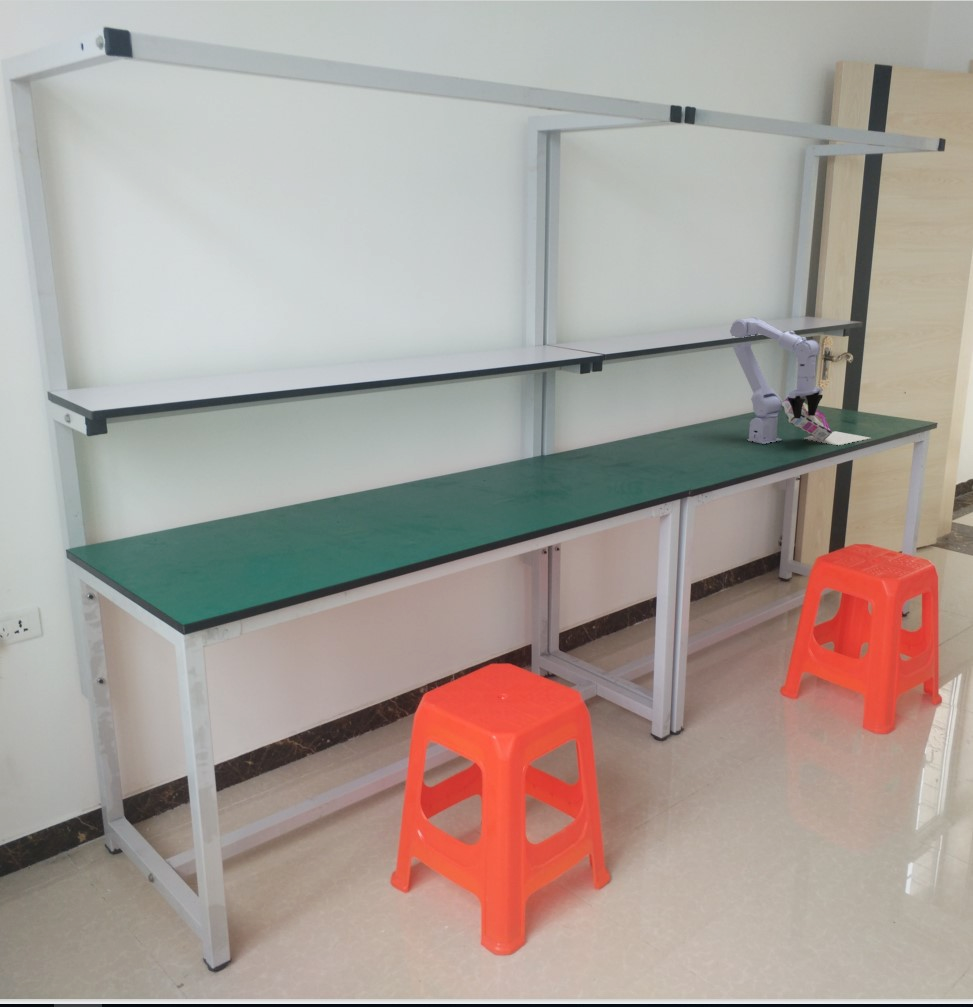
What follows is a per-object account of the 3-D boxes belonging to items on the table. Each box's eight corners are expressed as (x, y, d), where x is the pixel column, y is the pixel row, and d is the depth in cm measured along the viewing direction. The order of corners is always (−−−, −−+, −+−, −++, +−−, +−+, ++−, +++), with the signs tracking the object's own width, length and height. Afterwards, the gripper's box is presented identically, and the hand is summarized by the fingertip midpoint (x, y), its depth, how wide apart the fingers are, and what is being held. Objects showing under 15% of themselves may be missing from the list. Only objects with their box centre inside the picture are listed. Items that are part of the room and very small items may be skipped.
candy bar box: (833, 432, 335) (799, 413, 328) (823, 442, 338) (788, 423, 331) (823, 412, 343) (790, 393, 337) (813, 422, 346) (780, 403, 339)
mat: (838, 445, 333) (838, 444, 332) (802, 439, 345) (803, 437, 344) (871, 438, 342) (871, 437, 342) (835, 432, 354) (835, 431, 354)
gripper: (801, 380, 319) (800, 420, 323) (830, 375, 327) (828, 415, 330) (784, 378, 325) (783, 418, 328) (812, 373, 333) (810, 413, 336)
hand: (804, 416), depth 330 cm, fingers open, 7 cm apart
